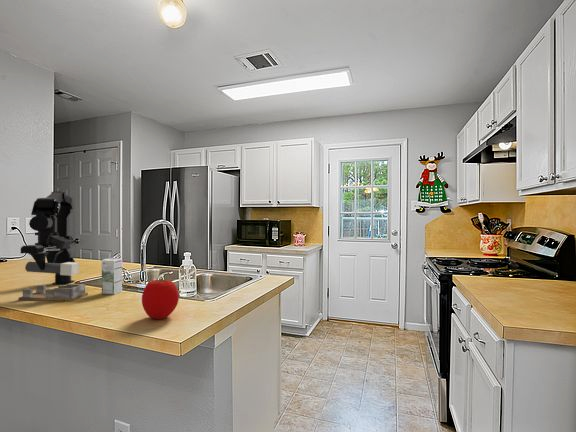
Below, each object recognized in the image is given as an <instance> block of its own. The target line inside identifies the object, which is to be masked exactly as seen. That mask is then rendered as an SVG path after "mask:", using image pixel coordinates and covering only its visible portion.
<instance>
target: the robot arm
mask: <svg viewBox="0 0 576 432" xmlns="http://www.w3.org/2000/svg"><path fill="white" fill-rule="evenodd" d="M74 209H75V203H74V200H73V198H72V197H71V196H69V195H68V194H67V192H66V191H63V190H61V191H60V190H59V191H58V190H57V191H56V190H53V191H51V192H50V194H49V195H47V196H46V197H38V198H36V199H35V201H33V207H32V209H31V216H32V218H31V219H30V220H29V223H28V224H29V226H30V228H31V230H33V231H36V232H34V236H37V242H35V243H34V244H28V245H27V244H26V245H22V246H21V247H20V254H28V255H30V256H31V258H32V259H33V260H34V262H36V263H37V265H38V266H39V268H40V269H41V270H44V268H45V263H60V264H62V263H66V262H76V261H75V259H74V257H73V253H72V251H71V250H70V248H71V244H73V236H72V235H69V219H70V217H71V216H72V214H73V210H74ZM74 282H75V280H74V279H73V280H72V276H69V275H60V274H56V273H54V282H52V283H51V284H52V285H67V284H72V283H74Z"/></svg>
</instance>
